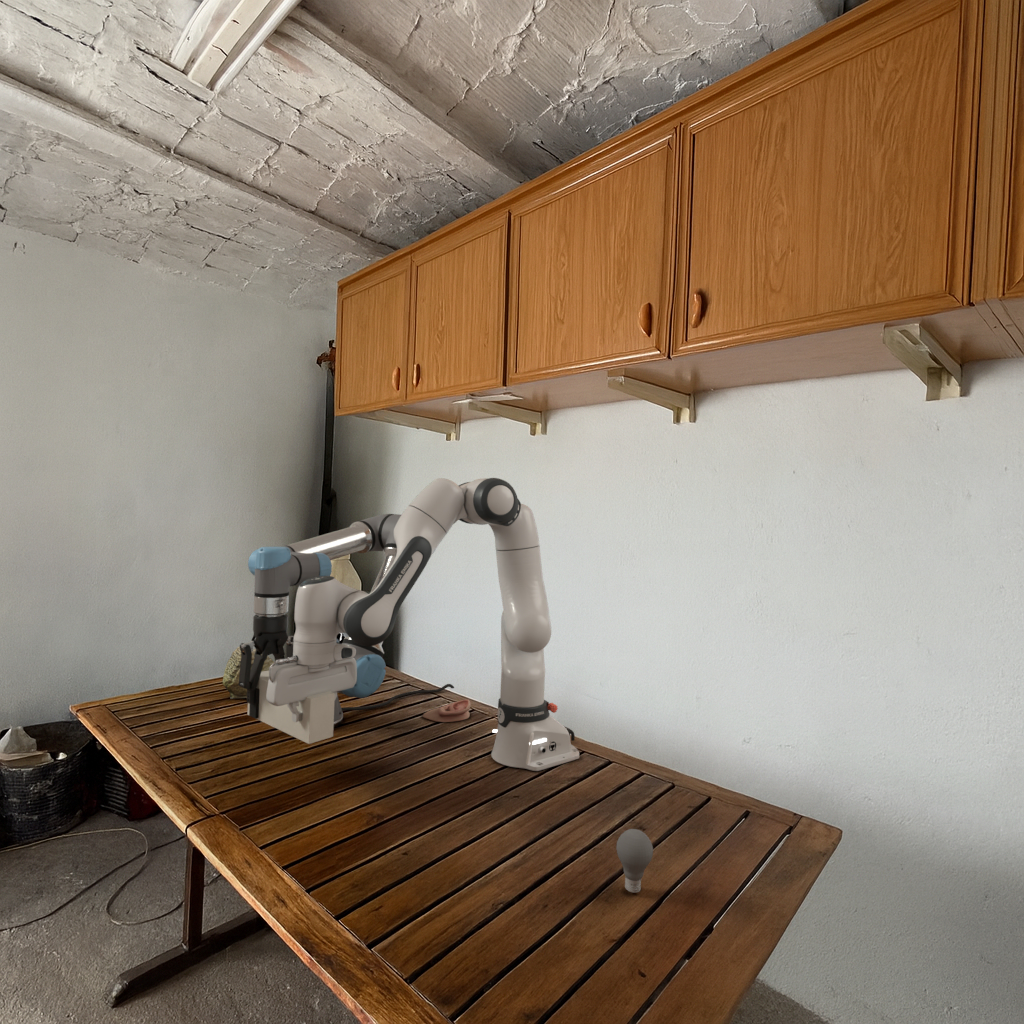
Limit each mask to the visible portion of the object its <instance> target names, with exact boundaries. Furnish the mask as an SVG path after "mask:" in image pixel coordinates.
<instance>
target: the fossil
mask: <svg viewBox="0 0 1024 1024" xmlns="http://www.w3.org/2000/svg"><path fill="white" fill-rule="evenodd" d="M255 651H256V648H253V651H252V661H251V668H252V665H253V661H254V654H255ZM261 655H262V654H261ZM274 662H275V660H273V659H272V658H271V657H270V655H268V656H267V659H266V660H265V662H264V665H263V668H262V671H261V672H263V671H268V670H269V668H270V666H271V665H272V664H273V663H274ZM240 663H241V650H240V646H238V647H237V648H236V649H235V650H233V651H232V653H231V656H230V657H229V659H228V660H227V663H226V666H225V668H224V671H223V675H222V676H223V677H222V685H223V687H224V688H225V690H226V691H228V693H229V698H230V699H247V689H245V688H242V687H240V686H239V674H240Z"/></svg>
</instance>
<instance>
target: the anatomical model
mask: <svg viewBox="0 0 1024 1024" xmlns="http://www.w3.org/2000/svg"><path fill="white" fill-rule="evenodd" d="M471 704H472V703H471V700H470V699H461V700H457V701H454V702H451V703H449V704H446V705H443V706H439V707H436V708H433V709H430V710H428V711H426V712H424V713H423V714H422V718H424V719H427V720H430V721H432V722H437V723H449V722H451V723H452V722H460V721H464V720H468V719H469V718H470V717H471V716H470V715H471V714H470V711H469V710H470V709H471V706H472V705H471Z"/></svg>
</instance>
